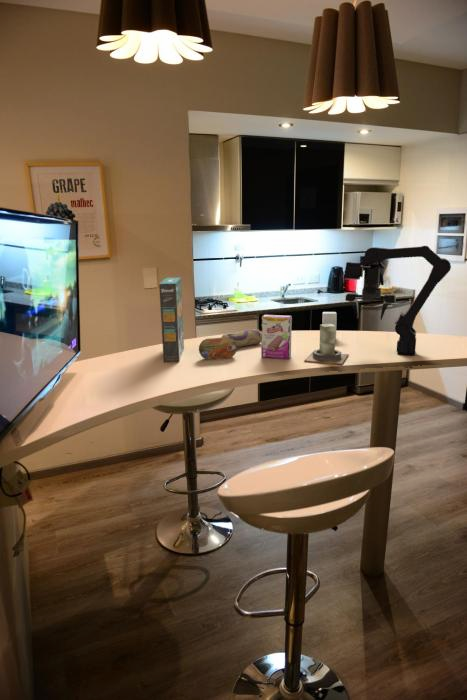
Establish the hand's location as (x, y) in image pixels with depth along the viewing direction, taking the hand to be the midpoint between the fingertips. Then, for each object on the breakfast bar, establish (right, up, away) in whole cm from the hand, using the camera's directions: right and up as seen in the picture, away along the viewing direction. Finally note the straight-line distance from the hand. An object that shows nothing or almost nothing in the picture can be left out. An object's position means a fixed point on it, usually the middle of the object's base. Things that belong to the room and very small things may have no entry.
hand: (369, 319), depth 185 cm
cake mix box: (-79, -15, +2) cm, 80 cm away
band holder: (-19, -16, -8) cm, 26 cm away
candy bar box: (-38, -15, -4) cm, 41 cm away
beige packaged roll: (-54, -11, +13) cm, 57 cm away
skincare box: (-11, -7, +25) cm, 28 cm away
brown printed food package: (-61, -16, -4) cm, 63 cm away
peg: (-19, -15, -8) cm, 25 cm away
